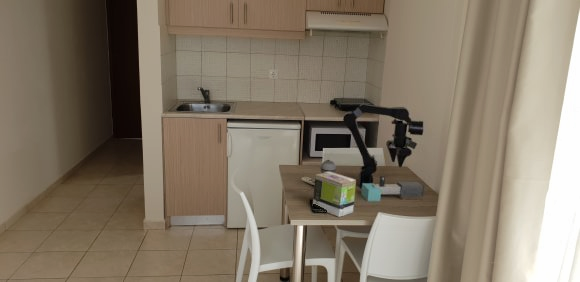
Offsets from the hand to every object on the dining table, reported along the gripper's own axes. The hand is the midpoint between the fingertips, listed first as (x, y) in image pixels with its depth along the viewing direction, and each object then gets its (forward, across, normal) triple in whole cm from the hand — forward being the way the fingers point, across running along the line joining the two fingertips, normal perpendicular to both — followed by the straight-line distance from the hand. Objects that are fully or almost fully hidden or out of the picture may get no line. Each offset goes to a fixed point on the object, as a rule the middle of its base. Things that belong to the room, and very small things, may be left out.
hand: (396, 164), depth 222 cm
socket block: (+13, -12, +16) cm, 24 cm away
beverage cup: (+13, -5, +35) cm, 38 cm away
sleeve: (+13, -11, -4) cm, 17 cm away
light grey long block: (+11, -11, +6) cm, 17 cm away
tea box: (+13, -27, +37) cm, 48 cm away
